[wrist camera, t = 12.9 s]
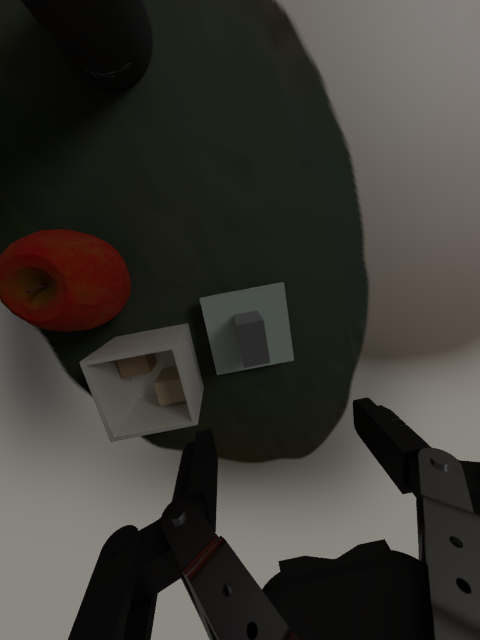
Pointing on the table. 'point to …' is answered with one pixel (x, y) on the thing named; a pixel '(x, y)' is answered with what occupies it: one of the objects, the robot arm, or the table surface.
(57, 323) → the apple
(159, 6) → the table surface
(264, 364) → the lid
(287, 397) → the table surface
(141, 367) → the storage box
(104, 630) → the robot arm
